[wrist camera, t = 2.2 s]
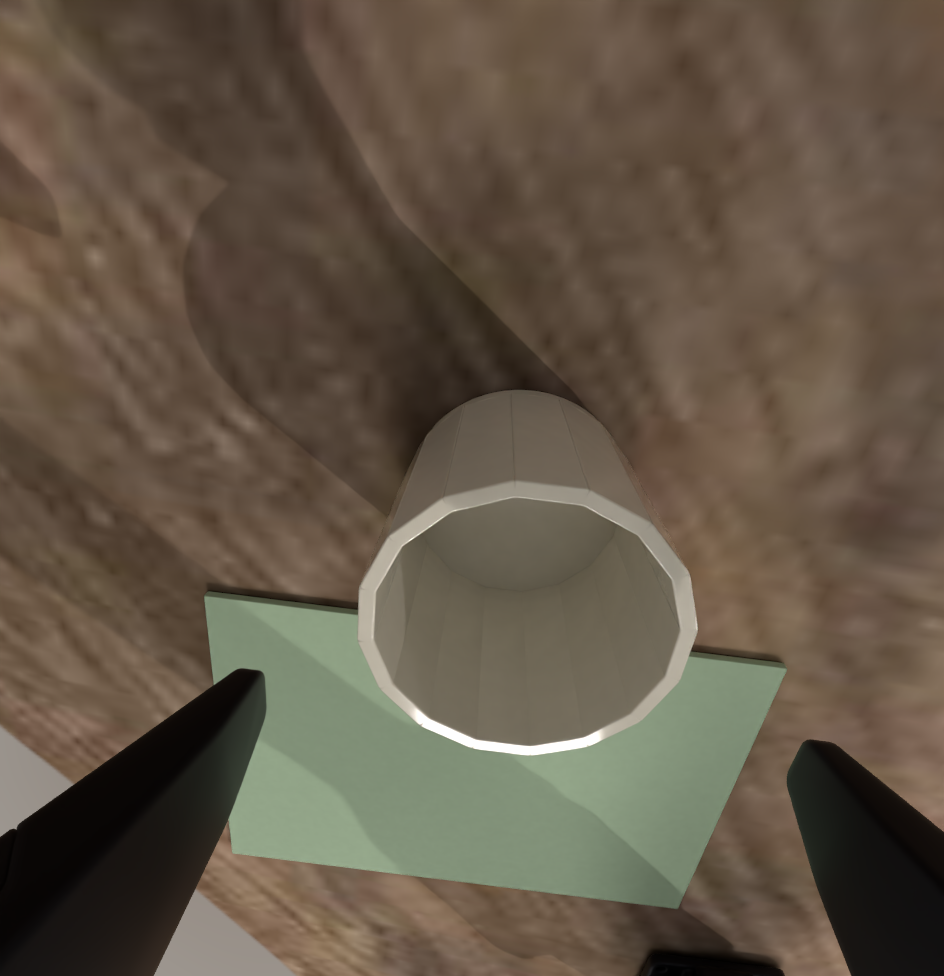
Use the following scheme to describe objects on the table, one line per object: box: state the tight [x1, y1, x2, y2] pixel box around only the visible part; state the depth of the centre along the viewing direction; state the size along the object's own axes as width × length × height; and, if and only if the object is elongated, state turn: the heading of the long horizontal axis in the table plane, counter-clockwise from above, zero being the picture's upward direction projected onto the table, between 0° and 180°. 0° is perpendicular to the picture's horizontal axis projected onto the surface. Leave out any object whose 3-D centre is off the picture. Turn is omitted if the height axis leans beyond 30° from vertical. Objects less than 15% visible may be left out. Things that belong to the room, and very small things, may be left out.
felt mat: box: [204, 591, 787, 909], centre depth 22 cm, size 14×20×1 cm
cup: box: [357, 390, 698, 756], centre depth 14 cm, size 7×7×6 cm
